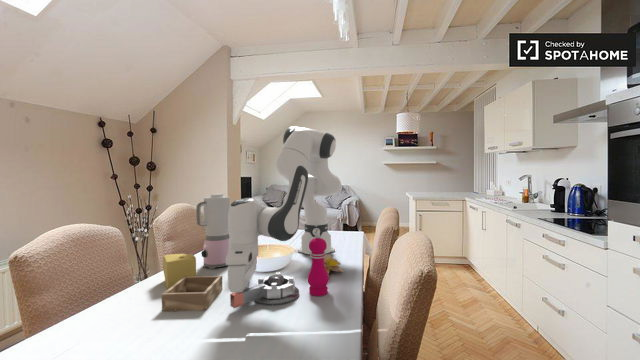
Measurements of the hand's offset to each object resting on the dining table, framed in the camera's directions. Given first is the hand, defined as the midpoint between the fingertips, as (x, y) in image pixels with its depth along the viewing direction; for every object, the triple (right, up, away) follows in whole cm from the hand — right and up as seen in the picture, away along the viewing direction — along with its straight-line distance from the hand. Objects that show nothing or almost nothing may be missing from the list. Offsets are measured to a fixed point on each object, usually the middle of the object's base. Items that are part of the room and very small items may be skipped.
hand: (245, 294), depth 89 cm
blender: (-23, -3, +37) cm, 44 cm away
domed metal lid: (+9, -2, +6) cm, 11 cm away
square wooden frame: (-17, -3, +3) cm, 17 cm away
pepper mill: (+23, -2, +7) cm, 24 cm away
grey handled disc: (+6, -1, +2) cm, 6 cm away
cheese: (-29, -3, +19) cm, 35 cm away
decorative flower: (+27, -2, +27) cm, 39 cm away
